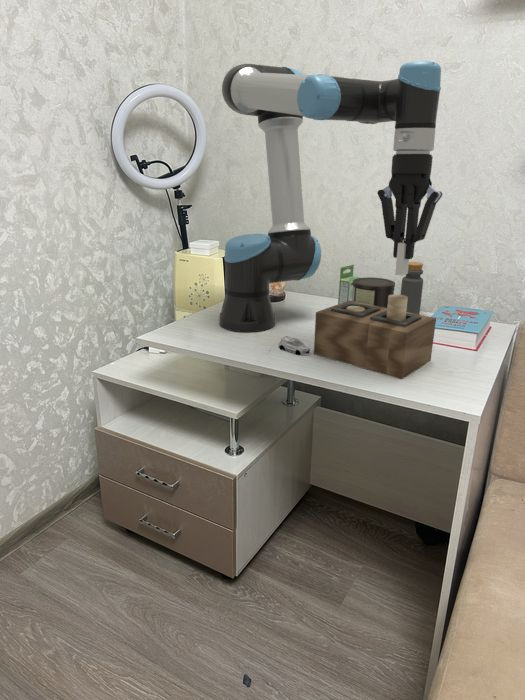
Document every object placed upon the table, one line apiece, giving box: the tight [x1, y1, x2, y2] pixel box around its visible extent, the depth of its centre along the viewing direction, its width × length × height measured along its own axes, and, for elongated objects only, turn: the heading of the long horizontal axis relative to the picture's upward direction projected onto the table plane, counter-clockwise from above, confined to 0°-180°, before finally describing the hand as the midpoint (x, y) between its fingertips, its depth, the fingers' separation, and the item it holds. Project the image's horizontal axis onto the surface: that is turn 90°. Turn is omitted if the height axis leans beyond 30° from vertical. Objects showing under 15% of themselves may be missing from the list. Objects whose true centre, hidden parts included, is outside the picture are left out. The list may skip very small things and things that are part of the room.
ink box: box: [337, 264, 361, 305], centre depth 152 cm, size 7×4×13 cm, turn 136°
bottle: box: [399, 261, 424, 315], centre depth 150 cm, size 6×6×15 cm
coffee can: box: [352, 276, 396, 308], centre depth 132 cm, size 10×10×14 cm
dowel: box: [386, 293, 408, 322], centre depth 113 cm, size 4×4×9 cm
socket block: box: [313, 300, 437, 380], centre depth 118 cm, size 22×14×11 cm, turn 49°
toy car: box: [278, 335, 312, 356], centre depth 123 cm, size 4×8×3 cm, turn 48°
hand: (401, 274), depth 109 cm, fingers closed
